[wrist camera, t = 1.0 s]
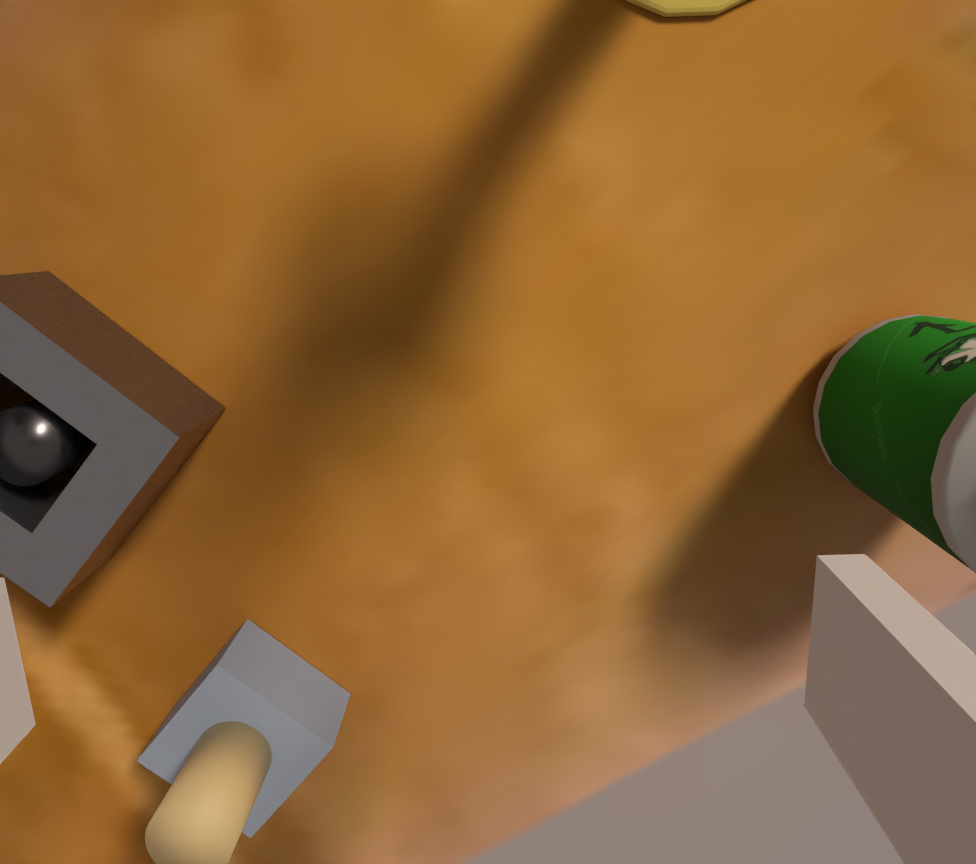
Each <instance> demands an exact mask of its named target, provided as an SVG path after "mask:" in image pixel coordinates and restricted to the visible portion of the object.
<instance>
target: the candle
mask: <svg viewBox="0 0 976 864" xmlns="http://www.w3.org/2000/svg"><path fill="white" fill-rule="evenodd" d="M625 1H628V2H630V3H632V4H635V5H637V6H639V7H642V8H644V9H647V10H649V11H651V12H654V13H656V14H658V15H661V16H663V17H677V16H705V15H717V14H720V13H722V12H724V11H726V10H728V9H730V8H732V7H734V6H736V5H738V4H740V3H742V2H745V1H747V0H625Z"/></svg>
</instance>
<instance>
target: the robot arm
mask: <svg viewBox="0 0 976 864" xmlns="http://www.w3.org/2000/svg"><path fill="white" fill-rule="evenodd" d="M804 706H805V708H806V709H807V711H808V712H809V714H810V716H811V717H812V719H813V720H814V721H815V723H816V725H817V726H818V728H819V730H820V731H821V733H822V734H823V736H824V738H825V739H826V741H827V742H828V744H829V746H830V747H831V749H832V750H833V752H834V753H835V755H836V757H837V758H838V759H839V761H840V763H841V764H842V766H843V768H844V769H845V770H846V772H847V774H848V775H849V777H850V779H851V780H852V782H853V783H854V785H855V787H856V788H857V790H858V791H859V793H860V794H861V796H862V798H863V799H864V801H865V802H866V804H867V805H868V807H869V809H870V810H871V812H872V813H873V815H874V816H875V818H876V820H877V821H878V823H879V824H880V826H881V827H882V829H883V831H884V832H885V834H886V835H887V837H888V838H889V840H890V842H891V843H892V845H893V846H894V848H895V850H896V851H897V853H898V854H899V856H900V857H901V859H902V860H903V862H904V864H976V655H975V654H974V653H973V652H972V651H971V650H970V649H969V648H968V647H967V646H966V645H964V644H963V643H962V642H961V641H960V640H959V639H958V638H957V637H956V636H955V635H953V634H952V633H951V632H950V631H949V630H948V629H947V628H946V627H945V626H943V625H942V624H941V623H940V622H939V621H938V620H937V619H936V618H935V617H934V616H933V615H931V614H930V613H929V612H928V611H927V610H926V609H925V608H924V607H923V606H922V605H920V604H919V603H918V602H917V601H916V600H915V599H914V598H913V597H912V596H911V595H910V594H908V593H907V592H906V591H905V590H904V589H903V588H902V587H901V586H900V585H899V584H897V583H896V582H895V581H894V580H893V579H892V578H891V577H890V576H889V575H888V574H886V573H885V572H884V571H883V570H882V569H881V568H880V567H879V566H878V565H877V564H875V563H874V562H873V561H872V560H871V559H870V558H869V557H868V556H867V555H866V554H846V555H817V559H816V571H815V583H814V595H813V607H812V619H811V631H810V643H809V655H808V667H807V679H806V691H805V704H804ZM35 725H36V724H35V720H34V715H33V710H32V706H31V701H30V696H29V691H28V687H27V682H26V677H25V673H24V668H23V663H22V659H21V654H20V649H19V644H18V640H17V635H16V630H15V626H14V621H13V616H12V611H11V607H10V602H9V597H8V593H7V588H6V583H5V578H0V764H1V763H2V761H3V760H4V759H5V758H6V757H7V756H8V755H9V754H10V753H11V751H12V750H13V749H14V748H15V747H16V746H17V745H18V744H19V743H20V741H21V740H22V739H23V738H24V737H25V736H26V735H27V734H28V733H29V731H30V730H31V729H32V728H33V727H34V726H35Z"/></svg>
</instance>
